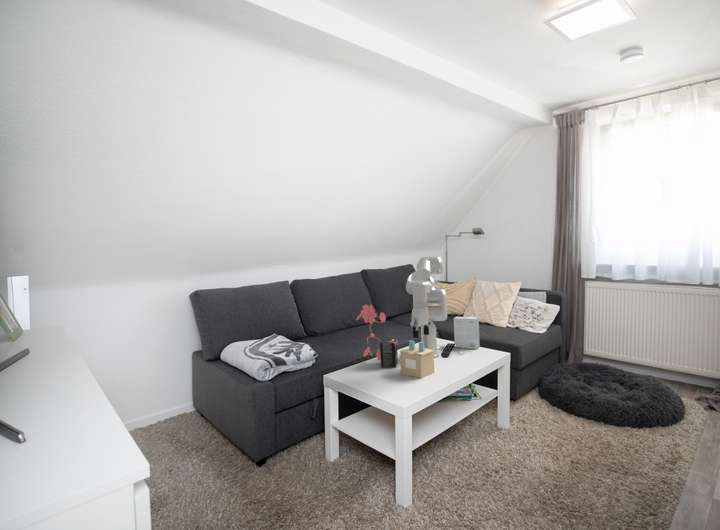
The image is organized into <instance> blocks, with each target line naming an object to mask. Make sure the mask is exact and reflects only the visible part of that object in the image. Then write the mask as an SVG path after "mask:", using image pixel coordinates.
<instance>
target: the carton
mask: <svg viewBox="0 0 720 530" xmlns="http://www.w3.org/2000/svg"><path fill="white" fill-rule="evenodd" d="M415 342H416V341H415V340H409V341H408V347H406V348H402V349H400V350H399V358H400V359H399V360H400V373H401V374H404V375H407V376H411V377H416V378H419V379H423V378H425V377H427V376H430V375H432V374H434V373H435V357H434V352H431V353H428V354H426V355H423V356H421V355H416V354H413V353H414V352H417V351H419V346H415V345H416V344H415Z"/></svg>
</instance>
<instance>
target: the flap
mask: <svg viewBox="0 0 720 530" xmlns="http://www.w3.org/2000/svg"><path fill="white" fill-rule="evenodd" d="M418 347H419V351H417V352H414V353H413V354H416V355H421V356H423V355H426V354H428V353H431V352H434V350H431V349H426V348H425V346H424V342H421V341H418Z"/></svg>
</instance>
